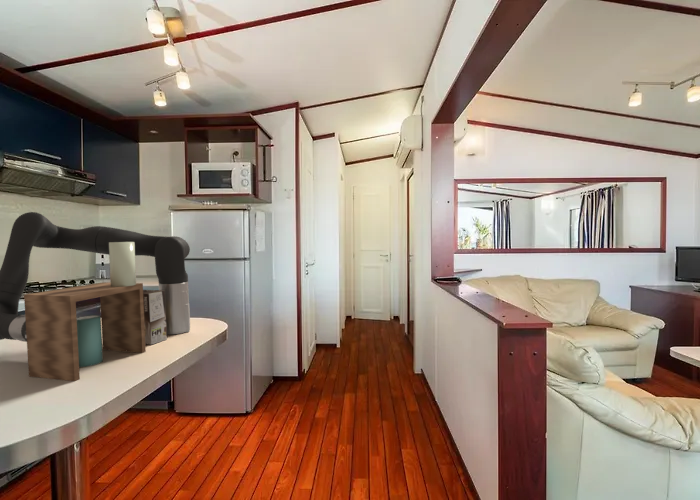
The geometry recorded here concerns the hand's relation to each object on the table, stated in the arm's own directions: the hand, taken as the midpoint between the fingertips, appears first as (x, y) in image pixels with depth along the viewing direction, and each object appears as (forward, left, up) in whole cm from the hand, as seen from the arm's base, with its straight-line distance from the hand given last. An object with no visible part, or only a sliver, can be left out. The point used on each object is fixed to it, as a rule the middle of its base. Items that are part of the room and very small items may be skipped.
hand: (82, 331), depth 95 cm
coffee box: (-13, -14, -9) cm, 22 cm away
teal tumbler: (-1, +1, -8) cm, 9 cm away
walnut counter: (-2, +2, -8) cm, 9 cm away
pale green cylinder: (-10, -1, +12) cm, 15 cm away
